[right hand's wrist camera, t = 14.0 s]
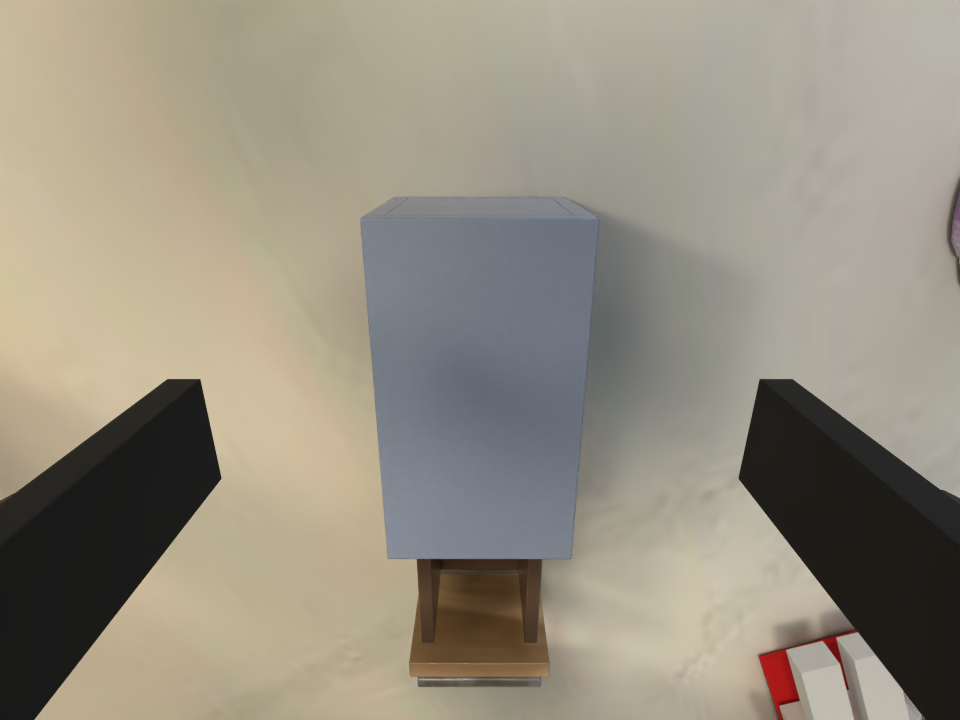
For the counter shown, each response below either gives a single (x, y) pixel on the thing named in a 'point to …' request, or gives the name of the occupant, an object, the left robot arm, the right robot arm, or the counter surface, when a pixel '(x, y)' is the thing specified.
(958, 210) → the figurine
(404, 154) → the counter surface
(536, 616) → the drawer
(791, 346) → the counter surface
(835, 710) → the toy
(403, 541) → the cabinet
